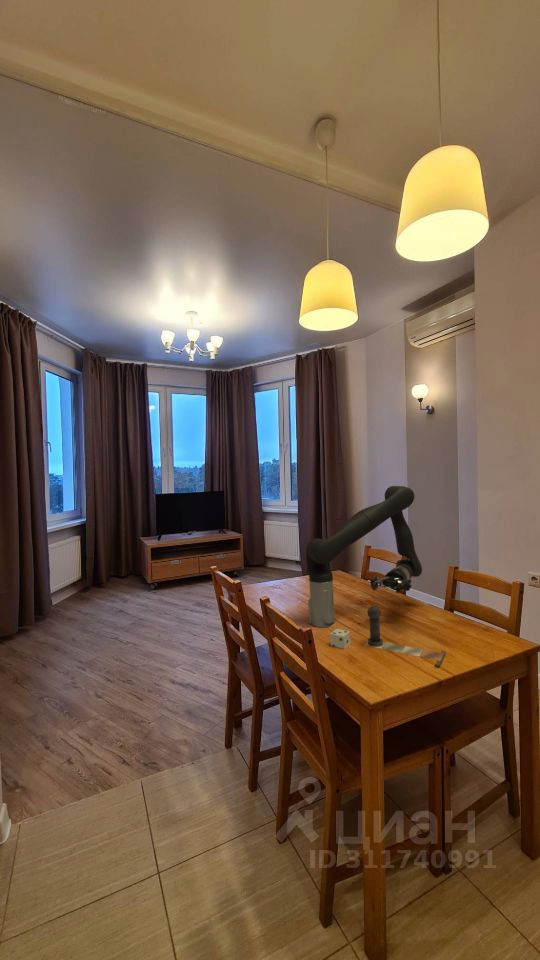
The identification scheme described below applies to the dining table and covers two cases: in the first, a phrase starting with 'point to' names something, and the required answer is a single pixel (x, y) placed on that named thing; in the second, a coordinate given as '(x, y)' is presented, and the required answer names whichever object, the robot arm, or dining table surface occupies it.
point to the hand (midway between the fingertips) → (384, 588)
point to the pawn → (374, 626)
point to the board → (414, 652)
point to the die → (340, 638)
